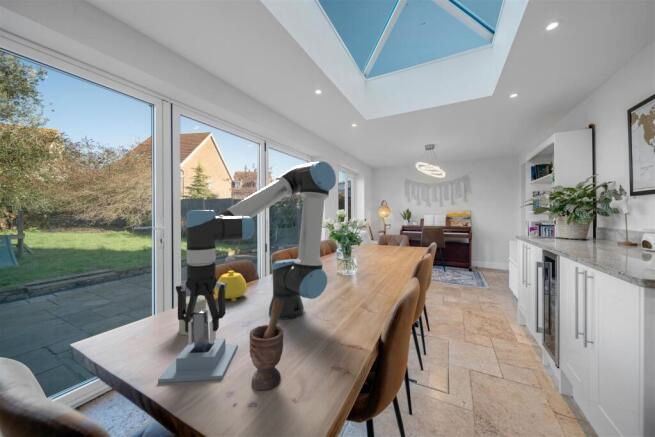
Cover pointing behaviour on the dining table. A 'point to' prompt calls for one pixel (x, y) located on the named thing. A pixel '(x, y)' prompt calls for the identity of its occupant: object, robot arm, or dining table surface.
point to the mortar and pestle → (267, 350)
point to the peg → (200, 331)
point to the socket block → (200, 363)
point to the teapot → (233, 285)
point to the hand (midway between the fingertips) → (202, 341)
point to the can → (199, 306)
